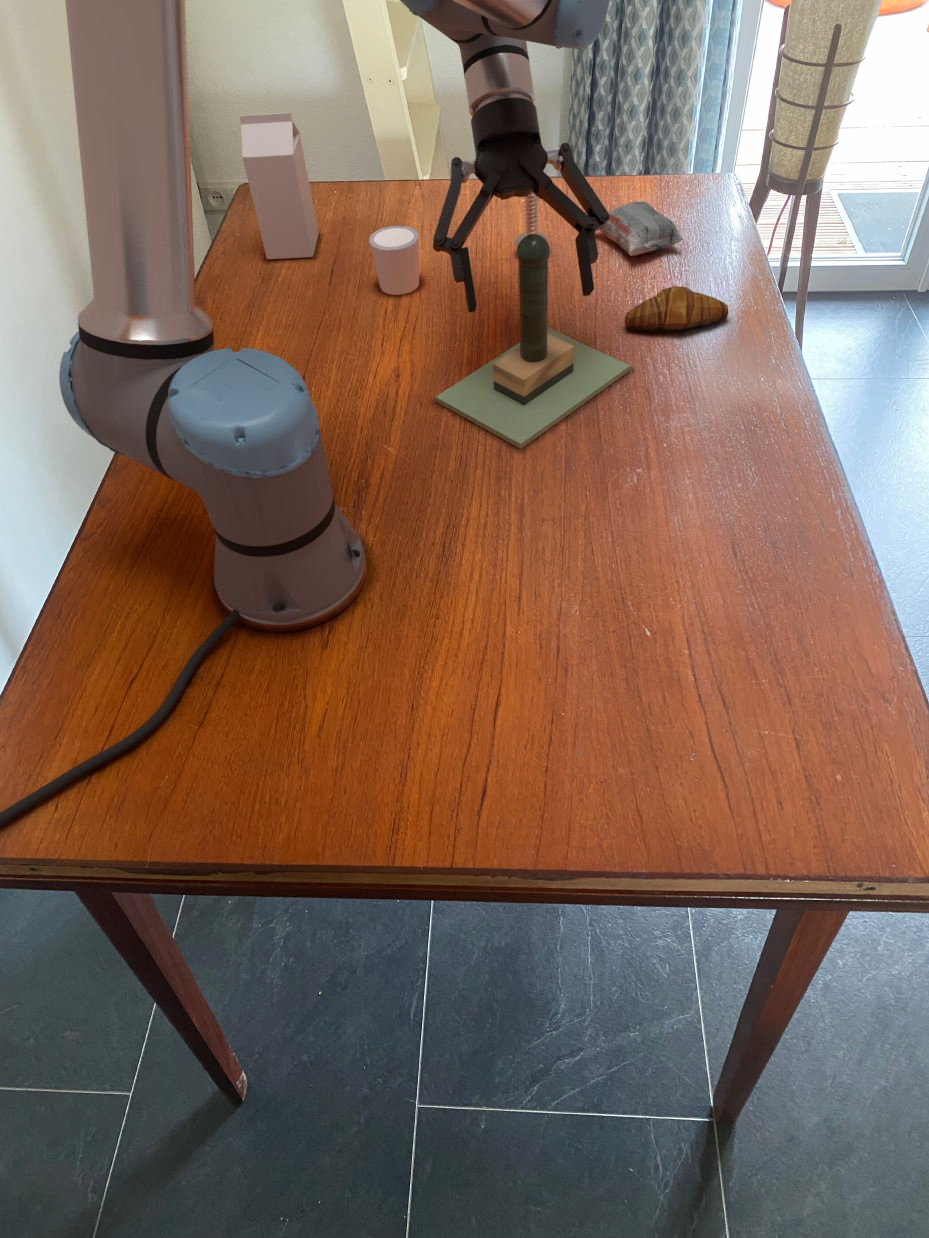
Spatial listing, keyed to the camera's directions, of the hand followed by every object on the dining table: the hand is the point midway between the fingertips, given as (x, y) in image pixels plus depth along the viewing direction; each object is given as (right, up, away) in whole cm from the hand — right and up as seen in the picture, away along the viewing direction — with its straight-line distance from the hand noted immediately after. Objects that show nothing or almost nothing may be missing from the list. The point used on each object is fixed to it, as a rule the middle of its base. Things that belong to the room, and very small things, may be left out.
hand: (530, 301), depth 104 cm
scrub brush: (+1, -7, +7) cm, 10 cm away
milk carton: (-34, +20, +34) cm, 52 cm away
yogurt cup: (-17, +11, +25) cm, 32 cm away
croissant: (+20, +2, +14) cm, 25 cm away
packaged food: (+17, +18, +28) cm, 37 cm away
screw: (+2, +17, +28) cm, 33 cm away
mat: (+1, -8, +7) cm, 11 cm away
